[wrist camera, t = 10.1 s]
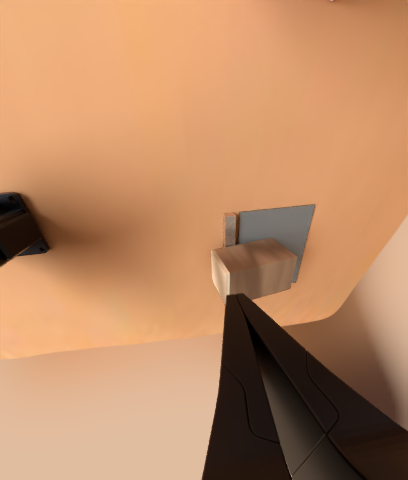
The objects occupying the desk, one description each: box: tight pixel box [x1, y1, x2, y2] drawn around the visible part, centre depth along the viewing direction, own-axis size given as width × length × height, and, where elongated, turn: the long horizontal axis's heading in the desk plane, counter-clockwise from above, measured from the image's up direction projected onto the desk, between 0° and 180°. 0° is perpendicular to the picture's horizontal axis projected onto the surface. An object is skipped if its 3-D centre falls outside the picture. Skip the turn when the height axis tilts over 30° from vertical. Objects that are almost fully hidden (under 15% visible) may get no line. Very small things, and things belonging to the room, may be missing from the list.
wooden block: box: [211, 238, 297, 305], centre depth 21 cm, size 4×4×8 cm
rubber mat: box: [238, 205, 315, 283], centre depth 24 cm, size 9×12×1 cm
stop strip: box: [223, 213, 236, 247], centre depth 23 cm, size 1×12×1 cm, turn 3°
